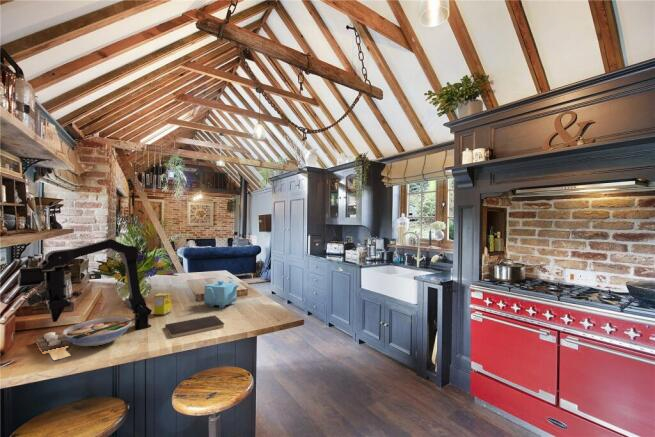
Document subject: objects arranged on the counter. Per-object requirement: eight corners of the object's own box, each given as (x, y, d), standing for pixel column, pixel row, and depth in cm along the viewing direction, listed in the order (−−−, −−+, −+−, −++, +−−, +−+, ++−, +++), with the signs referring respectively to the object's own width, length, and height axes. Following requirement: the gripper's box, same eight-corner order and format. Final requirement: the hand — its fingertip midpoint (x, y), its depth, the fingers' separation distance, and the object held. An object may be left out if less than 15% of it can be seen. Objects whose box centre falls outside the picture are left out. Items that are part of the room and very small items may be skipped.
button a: (61, 347, 118) (61, 341, 118) (49, 350, 115) (49, 344, 115) (59, 345, 120) (59, 339, 120) (48, 347, 117) (48, 341, 117)
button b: (58, 342, 121) (58, 336, 121) (47, 344, 118) (47, 338, 118) (56, 340, 123) (56, 334, 123) (45, 342, 120) (45, 336, 120)
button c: (56, 339, 124) (56, 333, 124) (44, 341, 121) (45, 335, 121) (54, 337, 126) (54, 331, 126) (43, 339, 123) (43, 333, 124)
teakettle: (202, 303, 183) (203, 279, 183) (234, 299, 192) (234, 276, 192) (206, 311, 167) (206, 285, 167) (240, 307, 175) (240, 282, 176)
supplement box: (171, 312, 164) (171, 292, 165) (164, 316, 158) (164, 295, 159) (161, 312, 165) (161, 292, 165) (153, 315, 159) (153, 295, 159)
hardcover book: (224, 328, 143) (224, 323, 143) (171, 339, 129) (171, 334, 129) (214, 319, 155) (214, 315, 155) (165, 328, 142) (165, 323, 142)
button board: (70, 347, 119) (70, 342, 119) (42, 354, 112) (42, 349, 112) (60, 337, 129) (60, 332, 129) (34, 343, 123) (34, 337, 123)
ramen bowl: (111, 329, 139) (112, 312, 139) (146, 336, 130) (146, 318, 130) (45, 351, 115) (45, 330, 115) (82, 361, 107) (82, 339, 107)
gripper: (23, 282, 117) (22, 322, 117) (30, 289, 106) (29, 333, 105) (60, 278, 126) (59, 315, 126) (71, 284, 114) (70, 325, 114)
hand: (54, 321), depth 118 cm, fingers closed
